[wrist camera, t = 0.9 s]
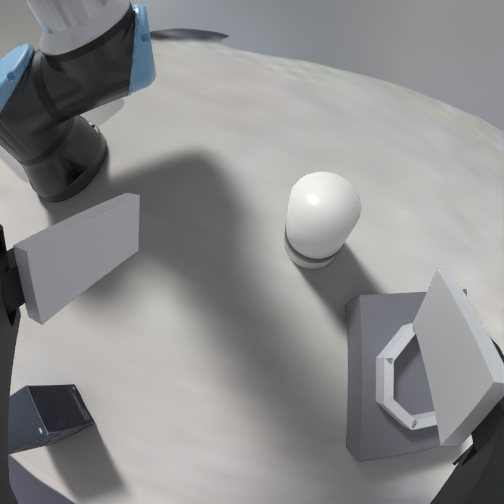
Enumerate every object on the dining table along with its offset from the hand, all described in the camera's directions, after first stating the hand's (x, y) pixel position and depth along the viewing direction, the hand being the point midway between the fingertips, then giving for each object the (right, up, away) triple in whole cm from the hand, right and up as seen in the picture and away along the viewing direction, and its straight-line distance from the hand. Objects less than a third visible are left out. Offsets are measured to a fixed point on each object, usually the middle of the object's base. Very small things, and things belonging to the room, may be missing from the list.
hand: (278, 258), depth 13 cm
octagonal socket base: (+17, -15, +22) cm, 31 cm away
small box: (-28, -23, +21) cm, 42 cm away
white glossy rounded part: (+6, +2, +27) cm, 28 cm away
